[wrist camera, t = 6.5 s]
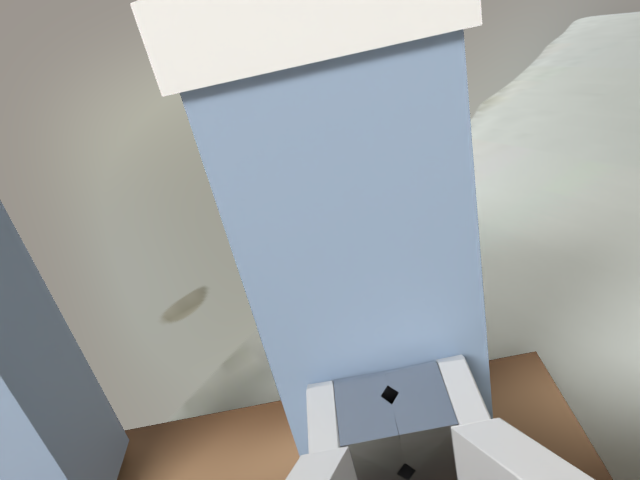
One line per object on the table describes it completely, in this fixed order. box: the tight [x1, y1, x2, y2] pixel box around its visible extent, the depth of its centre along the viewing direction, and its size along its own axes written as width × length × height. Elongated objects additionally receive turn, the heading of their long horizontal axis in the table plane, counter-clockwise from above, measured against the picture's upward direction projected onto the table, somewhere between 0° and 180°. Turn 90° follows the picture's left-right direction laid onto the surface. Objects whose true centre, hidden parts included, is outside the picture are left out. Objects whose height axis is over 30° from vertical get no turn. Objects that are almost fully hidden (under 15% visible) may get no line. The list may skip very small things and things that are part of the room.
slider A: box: [130, 0, 493, 456], centre depth 11 cm, size 3×4×12 cm
